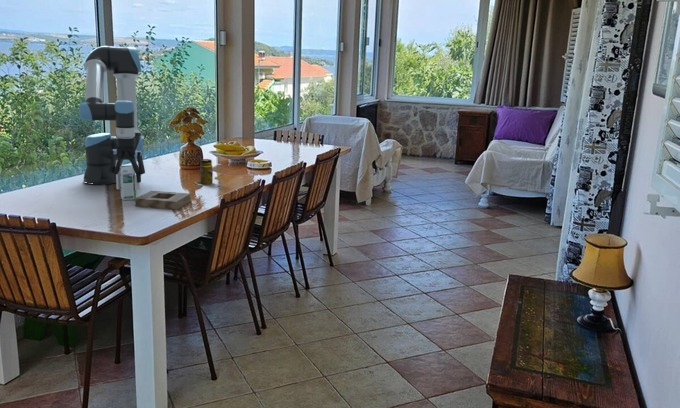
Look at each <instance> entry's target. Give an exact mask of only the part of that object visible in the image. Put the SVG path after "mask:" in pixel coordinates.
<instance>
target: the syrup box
mask: <svg viewBox="0 0 680 408" xmlns="http://www.w3.org/2000/svg"><path fill="white" fill-rule="evenodd" d="M119 173H120V187H121V188H120V197H121V200H122V201H130V200H131V201H133V200H135V198H137V191H135V177H134V176H135V175H136V173H135V171H134V169H133V166H132V164H131V165H128V164H127V165H121V166H120V168H119Z"/></svg>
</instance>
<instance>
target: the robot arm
mask: <svg viewBox="0 0 680 408" xmlns="http://www.w3.org/2000/svg"><path fill="white" fill-rule="evenodd" d="M139 53H140V52H139V50H138V49H137V48H136V47H132V46H131V47H130V46H115V45H113V46H111V45H102V46H98V47H96V48H94V49H93V50H91V52H89V53H88V55H87V56H86V58H85V60H84V72H85V73H86V76H85V96H84V102H80V103H79V106H78V109H79V110H78V112H79V118H80V119H81V120H82V121H89V122H91V121H94V122H95V121H111V122H112V121H113V122H114V121H115V135H113V136H112V134H111V133H109V132H101V133H94V134H91V135H88V136H86V137H85V139H84V143H85V144H84V147H85V161H86V162H85V163H86V164H85V165H86V167H85V171H84V175H83V177H82V178H83V179H82V180H83V183H84V182H87V183H93V184H105V185H111V184H114V183H116V186H115V187H116V190H121V187H120V170H119V168H120V166H123V162H124V161H129V162H130V164H131V165H132V166H133V169H134V171H135V176H134V177H135V191H136V192H137V191H139V190H140V189H141V187H140V183H141V182H142V175H144V174H146V169H145V165H144V160H143V152H144V141H145V136H144V135H142V132H141V131H140V130H139V129H138V111H137V110H138V109H137V87H136V85H137V84H136V82H137V81H136V80H137V79H138V77H139V75H140V73H141V72H142V66H141V61H140V54H139ZM106 72H112V76H113V77H114V78H115V79H116V92H117V93H116V96H117V100H115V102H113V103H112V102H104V100H105V99H104V98H105V97H104V96H105V93H104V91H105V74H106Z"/></svg>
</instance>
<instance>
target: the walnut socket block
mask: <svg viewBox="0 0 680 408" xmlns="http://www.w3.org/2000/svg"><path fill="white" fill-rule="evenodd" d="M190 202H191V193H187V192H174V191H163V190H162V191H161V190H150V191H148V192H146V193H143V194H141V195H139V196H136V198H135V199H134V203H135V205H134V206H139V208H148V207H150V209H160V208H161V210H162V209H163V210H173V211H174V210H175V211H177V210H179V209H180V208H182V207H183V206H185V205H187V204H189V203H190Z"/></svg>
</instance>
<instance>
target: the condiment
mask: <svg viewBox="0 0 680 408" xmlns="http://www.w3.org/2000/svg"><path fill="white" fill-rule="evenodd" d="M212 163H213V161H212V159H209V158H203V159H201V160H200V165H199V170H200V171H199V178H200V179H199V181H194V184H196V185H197V186H210V185H211V186H212V185H213V186H214V185H215V182H213V181H214V178H213V176H214V173H213V172H214V171H213V169H214V168H213V164H212Z"/></svg>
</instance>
